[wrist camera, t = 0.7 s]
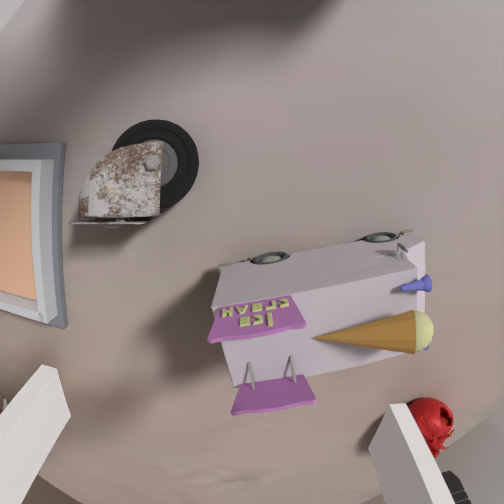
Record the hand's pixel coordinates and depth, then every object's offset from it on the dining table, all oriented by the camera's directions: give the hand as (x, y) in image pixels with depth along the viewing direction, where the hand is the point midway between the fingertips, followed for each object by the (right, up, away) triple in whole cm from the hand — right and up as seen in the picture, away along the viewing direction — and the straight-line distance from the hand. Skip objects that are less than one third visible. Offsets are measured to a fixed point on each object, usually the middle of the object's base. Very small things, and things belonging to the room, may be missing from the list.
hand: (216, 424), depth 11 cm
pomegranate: (+25, -18, +29) cm, 42 cm away
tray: (-31, +9, +21) cm, 39 cm away
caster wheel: (-9, +14, +20) cm, 26 cm away
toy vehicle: (+8, +4, +23) cm, 25 cm away
